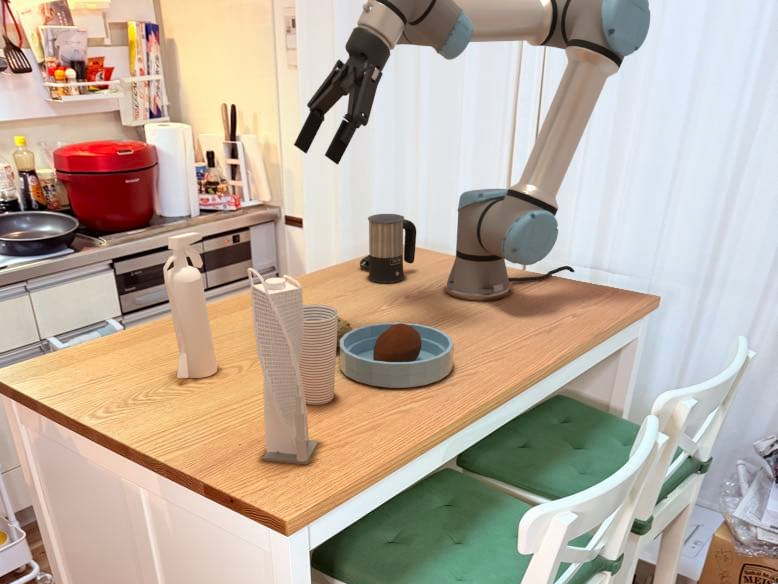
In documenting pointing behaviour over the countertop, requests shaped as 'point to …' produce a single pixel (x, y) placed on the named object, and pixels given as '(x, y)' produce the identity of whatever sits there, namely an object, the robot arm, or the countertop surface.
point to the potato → (398, 344)
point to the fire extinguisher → (189, 309)
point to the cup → (319, 353)
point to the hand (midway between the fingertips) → (315, 154)
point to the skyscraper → (281, 367)
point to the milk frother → (389, 247)
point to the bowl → (422, 371)
